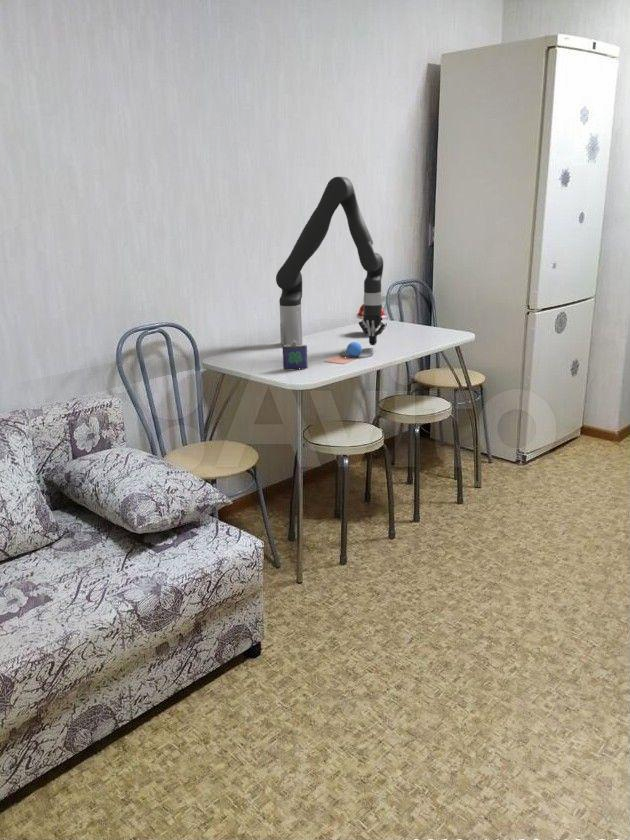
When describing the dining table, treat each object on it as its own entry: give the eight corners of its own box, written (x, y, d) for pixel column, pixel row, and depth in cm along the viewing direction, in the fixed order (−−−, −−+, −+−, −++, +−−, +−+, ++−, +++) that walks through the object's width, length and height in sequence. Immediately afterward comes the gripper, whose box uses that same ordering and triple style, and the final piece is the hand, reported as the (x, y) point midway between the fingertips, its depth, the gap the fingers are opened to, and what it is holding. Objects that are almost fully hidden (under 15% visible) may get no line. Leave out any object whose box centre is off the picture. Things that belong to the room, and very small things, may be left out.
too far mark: (336, 356, 284) (336, 356, 284) (355, 359, 279) (355, 358, 279) (324, 361, 277) (324, 361, 277) (343, 364, 272) (343, 363, 272)
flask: (307, 367, 269) (306, 339, 266) (308, 369, 267) (307, 341, 263) (283, 368, 269) (281, 340, 265) (283, 370, 266) (282, 342, 263)
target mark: (339, 358, 281) (339, 358, 281) (338, 351, 294) (338, 350, 294) (374, 357, 281) (374, 357, 281) (372, 350, 294) (372, 349, 294)
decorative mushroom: (387, 331, 332) (387, 298, 327) (385, 337, 319) (385, 303, 314) (357, 331, 334) (357, 299, 329) (354, 337, 321) (354, 303, 316)
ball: (346, 359, 281) (346, 344, 279) (346, 354, 286) (346, 340, 284) (362, 358, 281) (361, 344, 278) (361, 354, 286) (361, 339, 284)
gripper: (391, 303, 291) (391, 344, 296) (363, 300, 298) (363, 341, 304) (382, 305, 285) (382, 348, 291) (354, 303, 292) (354, 344, 298)
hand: (372, 344), depth 297 cm, fingers closed
